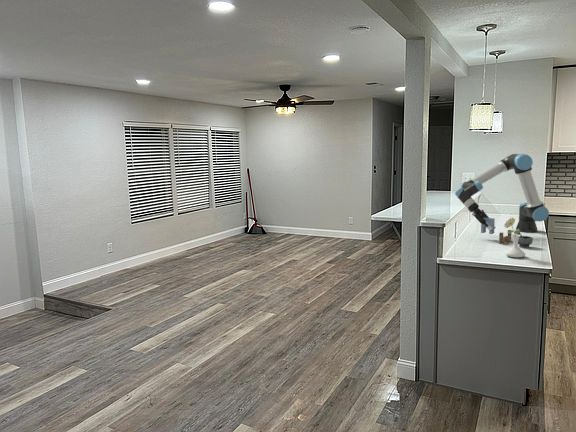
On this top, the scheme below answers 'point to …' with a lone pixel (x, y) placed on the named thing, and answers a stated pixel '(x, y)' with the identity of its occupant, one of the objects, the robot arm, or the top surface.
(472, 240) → the top surface
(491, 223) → the slotted block
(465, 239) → the top surface
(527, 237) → the mortar and pestle
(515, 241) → the flower in vase
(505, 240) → the wooden drawer pull
